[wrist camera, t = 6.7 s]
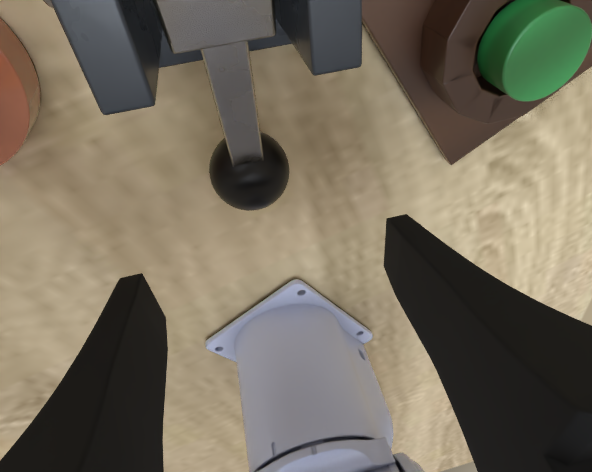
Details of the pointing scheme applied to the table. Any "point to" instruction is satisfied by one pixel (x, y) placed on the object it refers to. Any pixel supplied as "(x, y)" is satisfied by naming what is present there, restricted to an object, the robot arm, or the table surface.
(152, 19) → the switch bracket
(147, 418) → the robot arm
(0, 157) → the globe lamp
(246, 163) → the switch lever
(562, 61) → the light button
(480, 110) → the button block
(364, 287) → the table surface
